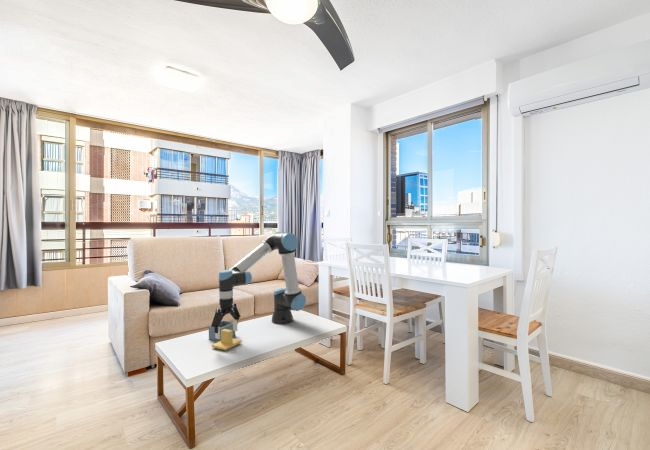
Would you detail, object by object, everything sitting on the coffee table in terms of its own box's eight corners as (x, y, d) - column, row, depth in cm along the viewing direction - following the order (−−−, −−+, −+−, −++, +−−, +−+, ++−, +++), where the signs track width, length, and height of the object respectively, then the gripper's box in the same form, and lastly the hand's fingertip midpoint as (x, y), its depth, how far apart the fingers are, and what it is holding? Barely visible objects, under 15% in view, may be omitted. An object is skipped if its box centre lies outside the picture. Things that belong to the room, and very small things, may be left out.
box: (223, 332, 199) (223, 320, 199) (235, 335, 195) (235, 322, 195) (208, 339, 189) (208, 326, 189) (220, 341, 184) (220, 328, 184)
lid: (227, 340, 186) (227, 325, 186) (241, 343, 181) (241, 328, 181) (211, 348, 175) (211, 332, 175) (225, 352, 170) (225, 335, 170)
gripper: (236, 292, 190) (237, 326, 191) (204, 302, 168) (204, 340, 168) (246, 293, 187) (246, 328, 187) (213, 303, 165) (214, 343, 165)
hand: (226, 334), depth 178 cm, fingers open, 13 cm apart
